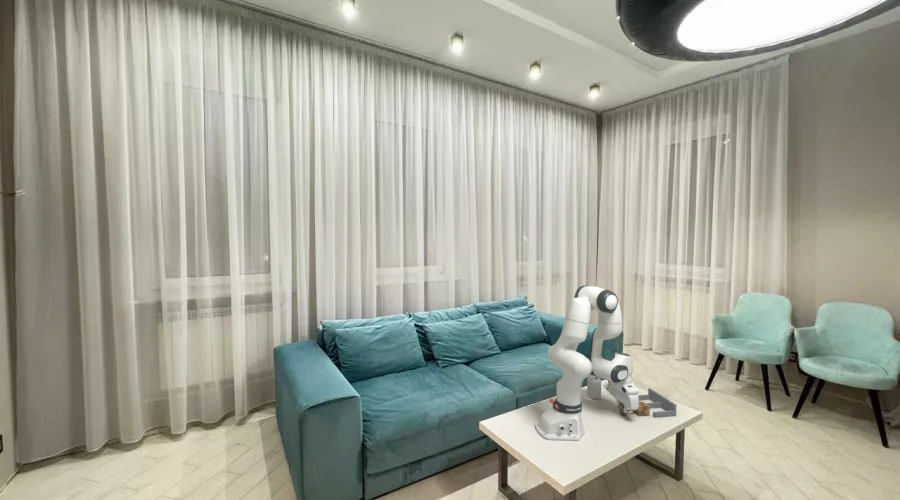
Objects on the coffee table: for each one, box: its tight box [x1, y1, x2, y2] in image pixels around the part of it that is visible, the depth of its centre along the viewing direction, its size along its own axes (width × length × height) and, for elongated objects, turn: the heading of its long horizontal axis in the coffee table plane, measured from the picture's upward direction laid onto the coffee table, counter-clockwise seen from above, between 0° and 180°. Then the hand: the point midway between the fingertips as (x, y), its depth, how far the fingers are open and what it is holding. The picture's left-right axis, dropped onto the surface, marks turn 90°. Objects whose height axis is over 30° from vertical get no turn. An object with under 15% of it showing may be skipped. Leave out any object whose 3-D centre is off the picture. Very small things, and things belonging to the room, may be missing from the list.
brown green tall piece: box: [619, 401, 651, 417], centre depth 184 cm, size 14×5×6 cm, turn 96°
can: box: [586, 374, 602, 400], centre depth 204 cm, size 8×8×12 cm
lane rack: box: [637, 387, 677, 419], centre depth 191 cm, size 12×20×6 cm, turn 7°
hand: (622, 410), depth 184 cm, fingers closed on brown green tall piece, 3 cm apart
